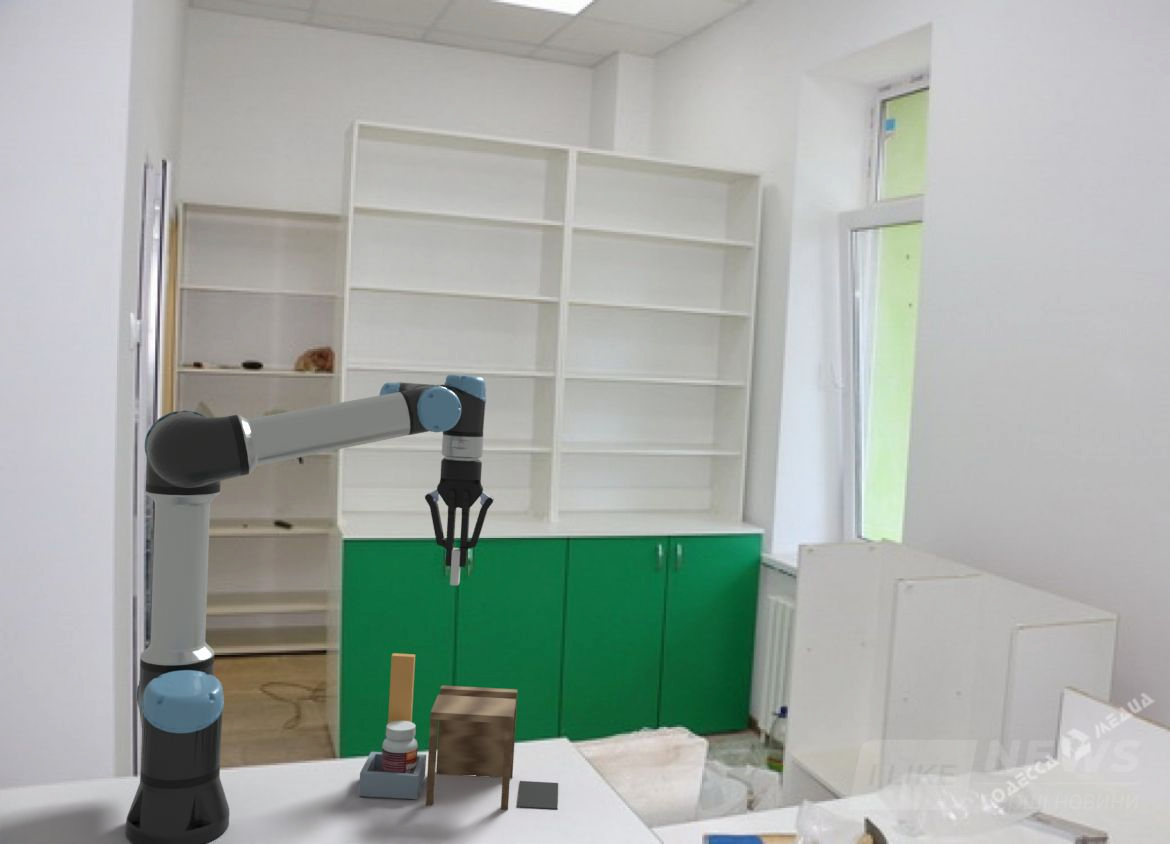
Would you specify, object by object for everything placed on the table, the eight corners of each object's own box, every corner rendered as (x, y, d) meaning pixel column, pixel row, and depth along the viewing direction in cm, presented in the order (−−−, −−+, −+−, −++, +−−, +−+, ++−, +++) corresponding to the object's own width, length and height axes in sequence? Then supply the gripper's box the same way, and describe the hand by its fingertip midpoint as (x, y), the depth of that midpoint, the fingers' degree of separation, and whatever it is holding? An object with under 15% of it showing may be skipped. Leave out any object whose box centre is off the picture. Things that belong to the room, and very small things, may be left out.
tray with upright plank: (358, 795, 177) (365, 668, 176) (370, 772, 188) (376, 652, 187) (416, 799, 178) (423, 671, 177) (425, 775, 188) (431, 655, 187)
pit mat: (516, 807, 177) (516, 806, 177) (519, 781, 188) (520, 780, 188) (557, 809, 178) (557, 808, 178) (558, 783, 189) (558, 782, 189)
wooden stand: (425, 805, 176) (430, 712, 175) (436, 771, 191) (441, 685, 190) (507, 810, 176) (513, 716, 175) (512, 775, 191) (517, 689, 190)
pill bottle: (411, 796, 179) (414, 732, 179) (376, 793, 180) (379, 729, 179) (418, 782, 185) (422, 720, 185) (385, 779, 186) (388, 718, 185)
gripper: (423, 457, 188) (417, 585, 189) (495, 462, 188) (488, 590, 189) (429, 454, 196) (422, 577, 197) (498, 458, 196) (491, 581, 197)
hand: (454, 583), depth 193 cm, fingers closed
